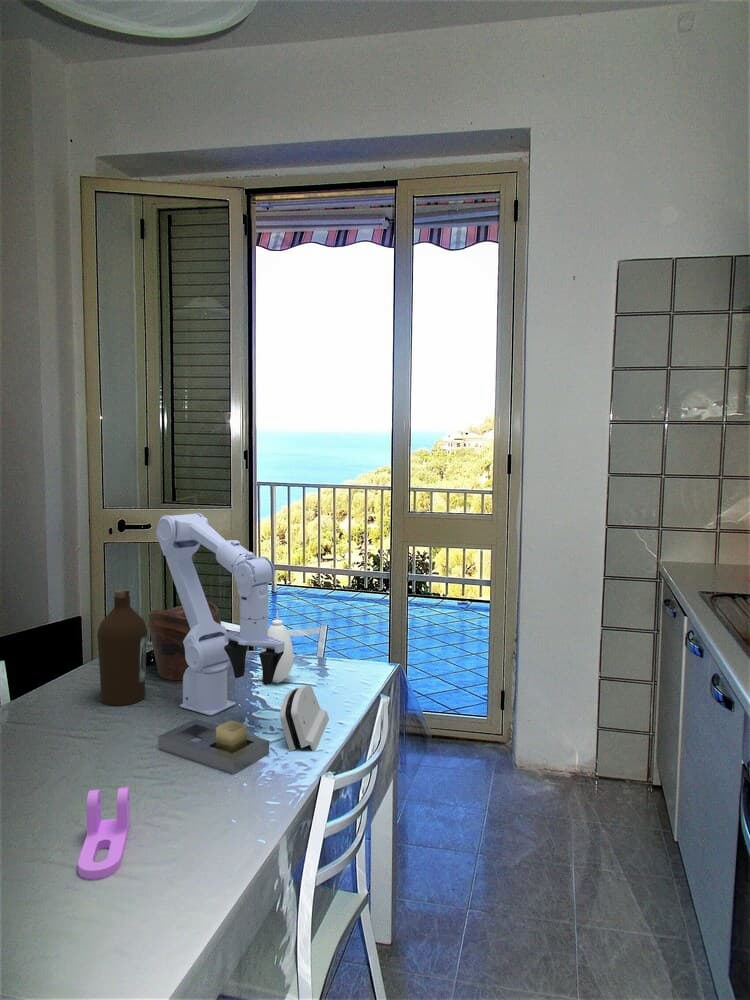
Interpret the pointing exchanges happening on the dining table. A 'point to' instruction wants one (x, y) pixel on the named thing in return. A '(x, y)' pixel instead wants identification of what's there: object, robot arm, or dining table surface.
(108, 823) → the bracket
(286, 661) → the sauce bottle
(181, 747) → the grey peg hole base
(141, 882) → the dining table surface
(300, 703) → the grey piece
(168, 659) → the terracotta flower pot
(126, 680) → the olive oil
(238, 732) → the tan rectangular block
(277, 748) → the dining table surface
